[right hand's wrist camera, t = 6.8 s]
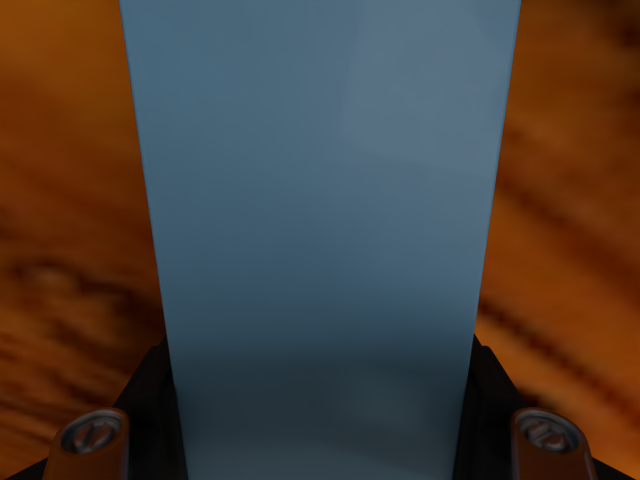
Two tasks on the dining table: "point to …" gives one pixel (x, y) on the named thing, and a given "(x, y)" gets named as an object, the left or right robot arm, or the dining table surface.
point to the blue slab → (320, 223)
